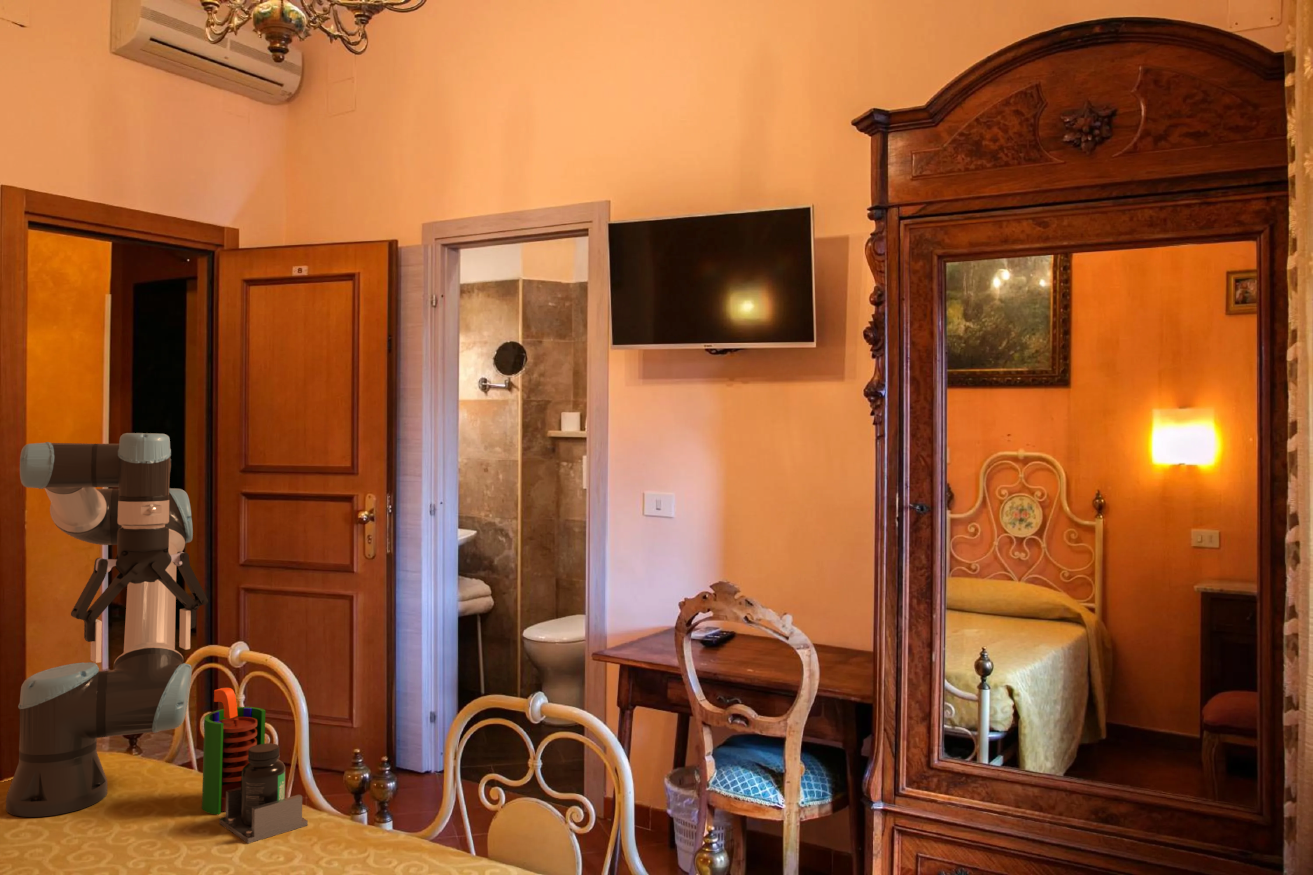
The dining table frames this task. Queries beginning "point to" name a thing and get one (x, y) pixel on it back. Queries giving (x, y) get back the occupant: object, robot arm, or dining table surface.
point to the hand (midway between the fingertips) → (141, 654)
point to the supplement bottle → (261, 779)
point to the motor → (228, 747)
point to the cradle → (263, 817)
